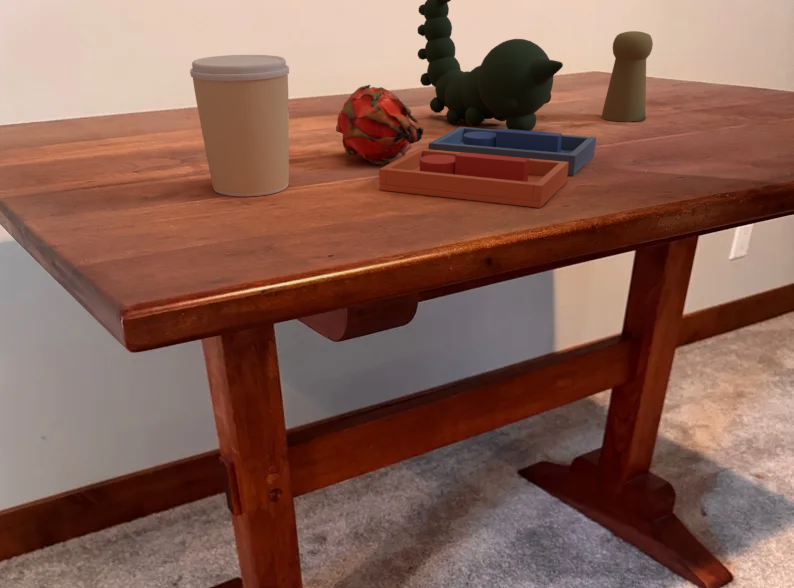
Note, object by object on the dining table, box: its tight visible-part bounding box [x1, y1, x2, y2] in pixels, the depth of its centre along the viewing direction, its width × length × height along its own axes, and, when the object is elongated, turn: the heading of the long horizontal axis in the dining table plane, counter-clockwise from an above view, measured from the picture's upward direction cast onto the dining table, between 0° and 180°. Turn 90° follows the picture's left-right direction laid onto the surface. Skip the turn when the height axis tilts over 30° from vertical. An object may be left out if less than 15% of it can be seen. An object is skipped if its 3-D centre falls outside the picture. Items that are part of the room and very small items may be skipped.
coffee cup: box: [189, 54, 290, 198], centre depth 79 cm, size 9×9×12 cm
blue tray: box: [428, 126, 597, 177], centre depth 91 cm, size 17×10×2 cm, turn 65°
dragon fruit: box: [335, 84, 424, 166], centre depth 90 cm, size 8×8×12 cm
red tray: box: [378, 148, 569, 209], centre depth 81 cm, size 17×10×2 cm, turn 65°
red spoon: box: [420, 152, 529, 182], centre depth 80 cm, size 11×4×2 cm, turn 65°
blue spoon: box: [463, 128, 563, 153], centre depth 91 cm, size 11×4×2 cm, turn 65°
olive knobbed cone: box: [600, 30, 654, 123], centre depth 110 cm, size 6×6×11 cm
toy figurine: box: [417, 0, 564, 131], centre depth 103 cm, size 9×19×25 cm
